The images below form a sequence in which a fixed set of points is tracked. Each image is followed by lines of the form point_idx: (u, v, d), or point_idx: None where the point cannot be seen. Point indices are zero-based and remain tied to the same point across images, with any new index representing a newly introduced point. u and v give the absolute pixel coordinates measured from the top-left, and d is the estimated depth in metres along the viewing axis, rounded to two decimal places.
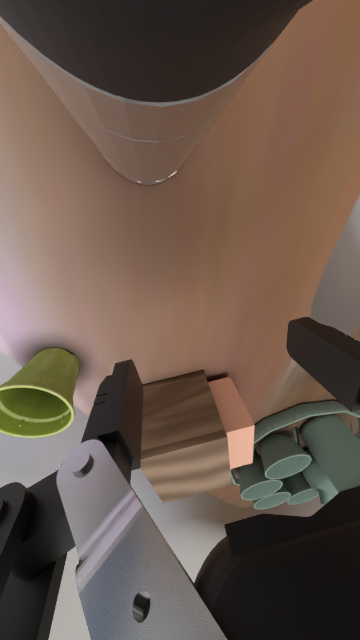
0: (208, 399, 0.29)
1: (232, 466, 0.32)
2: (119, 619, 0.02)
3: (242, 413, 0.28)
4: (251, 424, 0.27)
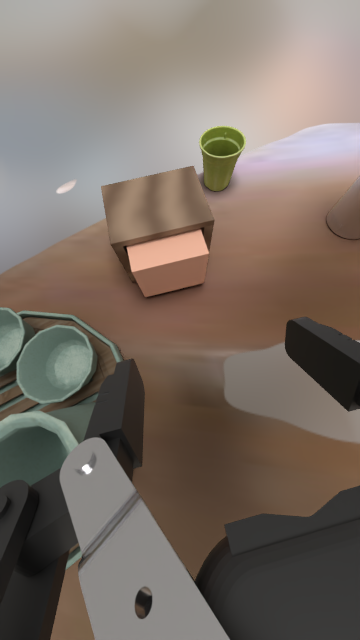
0: None
1: (132, 251, 0.29)
2: (121, 615, 0.03)
3: None
4: None
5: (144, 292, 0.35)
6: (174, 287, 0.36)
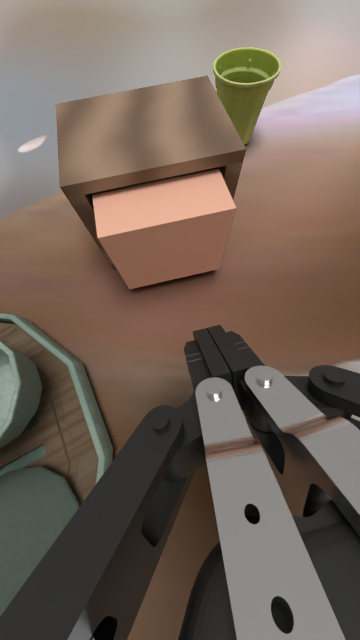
0: None
1: (102, 203, 0.17)
2: (233, 505, 0.03)
3: None
4: None
5: (127, 280, 0.22)
6: (174, 275, 0.24)
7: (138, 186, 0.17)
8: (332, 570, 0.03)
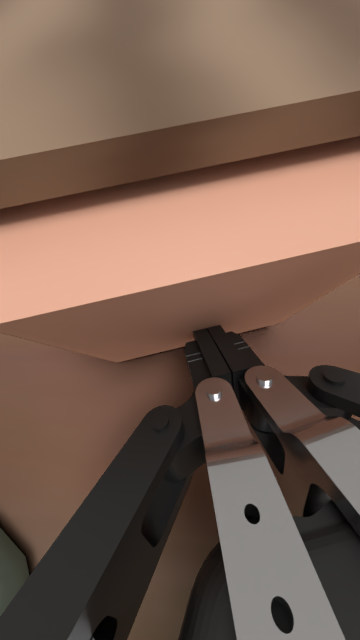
0: None
1: (19, 208, 0.06)
2: (233, 505, 0.03)
3: None
4: None
5: (110, 358, 0.11)
6: None
7: None
8: (332, 570, 0.03)
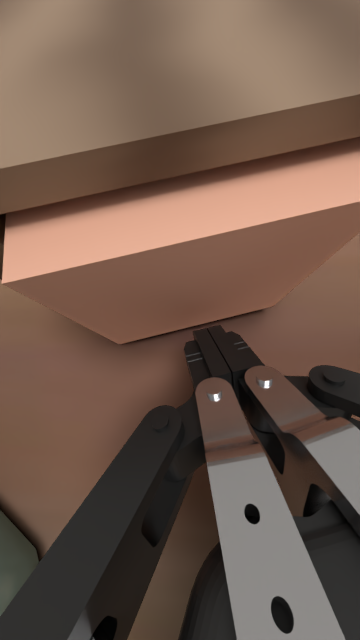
0: None
1: None
2: (233, 505, 0.03)
3: None
4: None
5: (113, 337, 0.12)
6: (198, 320, 0.13)
7: None
8: (332, 570, 0.03)
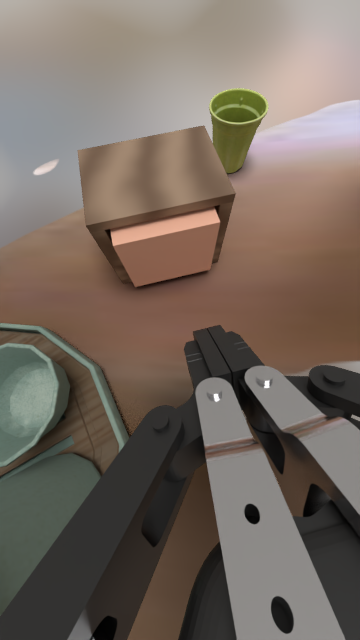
0: None
1: None
2: (233, 505, 0.03)
3: None
4: None
5: (133, 279, 0.27)
6: (172, 274, 0.28)
7: None
8: (332, 570, 0.03)
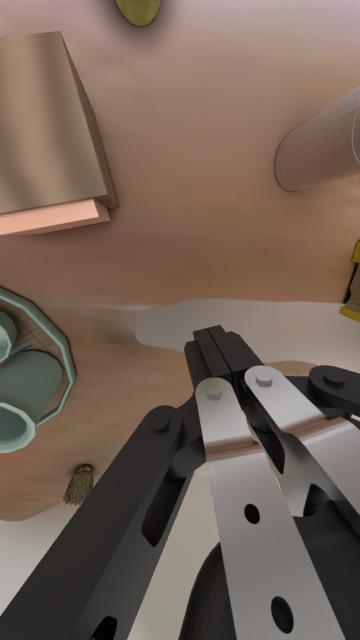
0: (112, 195, 0.26)
1: None
2: (233, 505, 0.03)
3: (99, 210, 0.25)
4: (98, 213, 0.24)
5: None
6: (72, 227, 0.30)
7: None
8: (332, 570, 0.03)
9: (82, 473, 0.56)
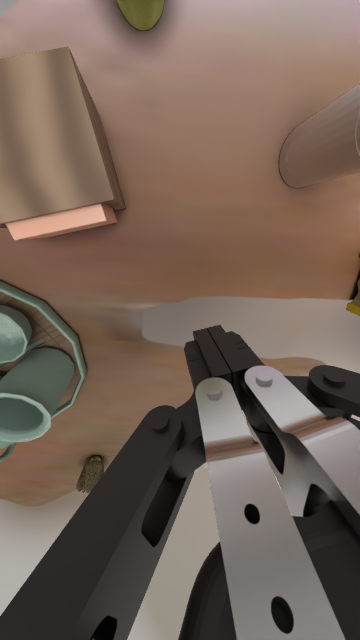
0: (119, 198, 0.27)
1: None
2: (233, 505, 0.03)
3: (107, 214, 0.26)
4: (105, 217, 0.25)
5: (44, 237, 0.31)
6: (81, 229, 0.32)
7: None
8: (332, 570, 0.03)
9: (94, 463, 0.59)
